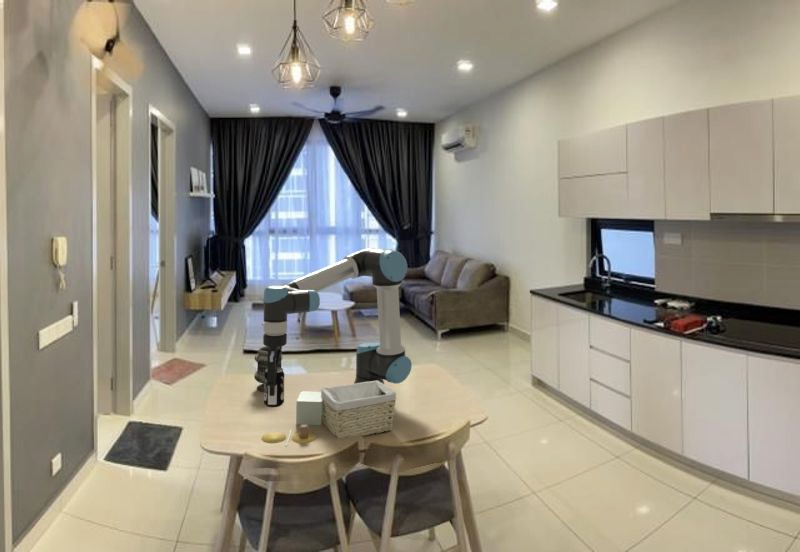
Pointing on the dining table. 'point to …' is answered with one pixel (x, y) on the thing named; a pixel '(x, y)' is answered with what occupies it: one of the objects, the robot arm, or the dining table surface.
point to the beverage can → (279, 388)
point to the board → (298, 437)
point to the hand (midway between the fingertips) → (274, 399)
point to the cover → (309, 408)
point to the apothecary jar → (262, 366)
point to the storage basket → (358, 408)
